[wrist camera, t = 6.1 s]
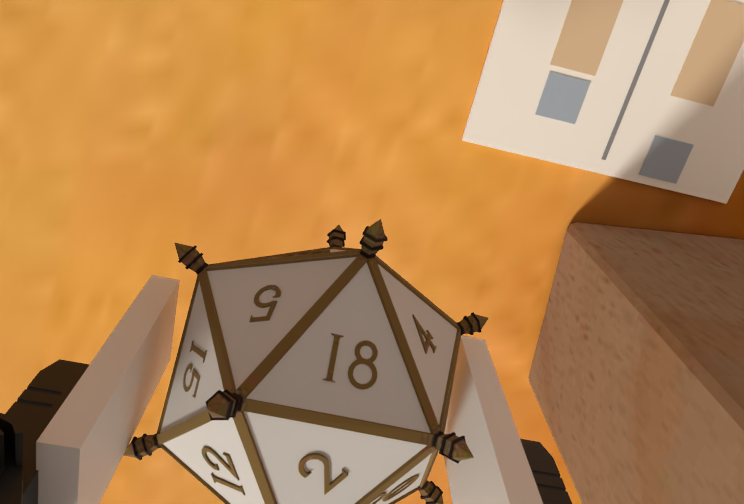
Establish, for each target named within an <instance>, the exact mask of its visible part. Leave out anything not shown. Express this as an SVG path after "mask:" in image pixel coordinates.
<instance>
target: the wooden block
mask: <svg viewBox="0 0 744 504" xmlns="http://www.w3.org/2000/svg"><path fill="white" fill-rule="evenodd" d="M529 382H530V385H531V387H532V389H533V392H534V394H535V396H536V398H537V401H538V403H539V405H540V408H541V410H542V412H543V414H544V417H545V419H546V421H547V424H548V426H549V428H550V431H551V433H552V435H553V437H554V440H555V442H556V444H557V447H558V449H559V451H560V453H561V456H562V458H563V460H564V463H565V465H566V467H567V470H568V472H569V474H570V476H571V479H572V481H573V483H574V486H575V488H576V490H577V492H578V495H579V497H580V499H581V502H582V504H744V239H734V238H725V237H715V236H705V235H696V234H686V233H676V232H667V231H657V230H647V229H638V228H628V227H618V226H609V225H599V224H589V223H580V222H578V223H572V224H570V225H569V227H568V228H567V232H566V236H565V239H564V243H563V247H562V251H561V255H560V259H559V263H558V266H557V270H556V274H555V278H554V282H553V286H552V289H551V293H550V297H549V301H548V305H547V309H546V313H545V316H544V320H543V324H542V328H541V332H540V336H539V339H538V343H537V347H536V351H535V355H534V359H533V363H532V366H531V370H530V374H529Z"/></svg>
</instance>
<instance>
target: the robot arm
mask: <svg viewBox="0 0 744 504" xmlns="http://www.w3.org/2000/svg"><path fill="white" fill-rule="evenodd" d="M179 281H180V280H176V279H171V278H165V277H160V276H155V275H152V276H151V277H150V279H149V280H148V281H147V283H146V284H145V286H144V287H143V289H142V290H141V292H140V293H139V294H138V296H137V297H136V299H135V300H134V302H133V303H132V304H131V306H130V307H129V309H128V310H127V312H126V313H125V315H124V316H123V317H122V319H121V320H120V322H119V323H118V325H117V326H116V328H115V329H114V330H113V332H112V333H111V335H110V336H109V338H108V339H107V341H106V342H105V343H104V345H103V346H102V348H101V349H100V351H99V352H98V353H97V355H96V356H95V358H94V359H93V361H92V362H91V364H90V365H88V364H83V363H77V362H71V361H65V360H58V361H57V362H55V363H53V364H51V365H50V366H48V367H46V368H45V369H43V370H41V371H40V372H39V373H38V374H37V376H36V377H35V378H34V379H33V380H32V382H31V383H30V384H29V385H28V388H27V390H26V389H25V390H24V392H23V393H22V394H21V395H20V397H19V398H18V400H17V402H15V403H14V404H13V405H12V406H11V408H10V409H9V410H8V411H7V413H6V414H2V413H0V504H99V503H100V501H101V499H102V497H103V495H104V493H105V491H106V489H107V487H108V485H109V483H110V481H111V479H112V477H113V475H114V473H115V470H116V468H117V466H118V464H119V462H120V460H121V458H122V456H123V454H124V452H125V450H126V448H127V446H128V444H129V442H130V440H131V438H132V436H133V434H134V432H135V430H136V428H137V426H138V424H139V422H140V420H141V418H142V416H143V414H144V411H145V409H146V407H147V405H148V403H149V401H150V399H151V397H152V395H153V393H154V391H155V389H156V387H157V385H158V383H159V381H160V379H161V377H162V375H163V373H164V371H165V369H166V367H167V365H168V363H169V361H170V356H171V347H172V339H173V331H174V322H175V314H176V306H177V297H178V289H179ZM452 432H455V433H456V436H458V437H461V436H462V435H463V436H465V440H466V444H467V446H468V448H469V449H470V451H471V453H472V455H473V457H474V458H470V459H466V460H462V461H460V462H459V463H456V462H454V461H452V460H450V459H448V458H447V457H445V456H444V459H445V464H446V470H447V475H448V481H449V486H450V492H451V497H452V502H453V504H572V502H571V500H570V497H569V495H568V493H567V492H566V491H565V489H566V488H565V485H564V483H563V480H562V478H560V473H559V471H558V468H557V466H556V464H555V461H554V459H553V457H552V456H551V455H550V454H549V453H548V451H547V450H546V449H545V448H544V447H543V445H542V444H541V443H540V442H535V441H530V440H524V439H520V438H519V435H518V432H517V429H516V426H515V424H514V421H513V418H512V415H511V412H510V410H509V407H508V404H507V401H506V398H505V396H504V393H503V390H502V387H501V384H500V382H499V379H498V376H497V373H496V370H495V368H494V365H493V362H492V359H491V356H490V354H489V351H488V348H487V345H486V342H485V340H483V339H478V338H473V337H468V336H463V335H461V340H460V345H459V351H458V357H457V363H456V369H455V374H454V380H453V386H452V392H451V398H450V404H449V409H448V415H447V421H446V427H445V433H444V434H450V433H452Z"/></svg>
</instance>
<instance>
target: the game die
mask: <svg viewBox="0 0 744 504" xmlns="http://www.w3.org/2000/svg"><path fill="white" fill-rule="evenodd" d="M363 235H364V236H363V238H362V239H361V241H360V244H361V245H362V249H353V248H342V247H344V240H346V233H345V232H343V230H342V229H341V227H340V225H338V226H337V227H336V228H335V229H334V230H332V231H331V232H330V233H328V235H327V236H329V239H328V240H327V242H328V243H329V246H330V247H328V248H321V249H314V250H307V251H300V252H293V253H286V254H279V255H272V256H265V257H258V258H251V259H244V260H237V261H230V262H223V263H216V264H209V265H208V264H207V263H205V261H204V259H203V257H202V255H203V254H202V253H201V254H200V253H199V252H198V251H197V250H196V249H195V248H196V246H194V247H191V246H187V245H182V244H178V243H175V246H176V250H177V253H178V257H179V261H178V262H179V263H180V262H182V263H183V264H184V265H186V266H187V267H186V269H188V268H189V269H191V270H193V271H195V272H196V273H197V274H198V276H197V280H196V284H195V288H194V291H193V295H192V299H191V303H190V307H189V311H188V315H187V319H186V322H185V326H184V330H183V334H182V338H181V342H180V346H179V349H178V353H177V357H176V361H175V365H174V369H173V373H172V377H171V380H170V384H169V388H168V392H167V396H166V400H165V404H164V407H163V411H162V415H161V419H160V423H159V427H158V431H157V434H155V435H146V434H143V436H142V437H139V438H137V437H134V438H133V440H132V442H131V443H130V444H129V445H128V446H127V448H126V450H125V452H124V454H123V455H124V456H130V457H136V458H138V459H139V460H142V457H143V456H146V455H149V456H151V455H152V452H153V451H155V450H156V449H157V448H162V449H164V450H165V451H166V452H167V453H168V454H169V455H170V456H172V457H173V458H174V459H175V460H176V461H177V462H178V463H179V464H181V465H182V466H183V467H184V468H185V469H186V470H187V471H189V472H190V473H191V474H192V475H193V476H194V477H195V478H197V479H198V480H199V481H200V482H201V483H202V484H203V485H204V486H206V487H207V488H208V489H209V490H210V491H211V492H212V493H214V494H215V495H216V496H217V497H218V498H219V499H220V500H222V501H223V502H224V503H225V504H395V503H396V502H398V501H400V500H402V499H403V498H405V497H407V496H408V495H410V494H412V493H414V492H415V491H417V490H419V492H420V494H421V497H420V498H421V499H425V500H426V504H443V499H442V493H443V492H442V491H441V489H440V488H439V487H438V486H437V487H436V485H435V484H434V483H433V482H432V481H431V482H429V481H427V478H428V476H429V473H430V471H431V468H432V466H433V463H434V461H435V458H436V456H437V453H438V451H439V453H440V454H441V455H443V456H445V457H447V458H448V459H450V460H452V461H454V462H456V463H459V462H460V461H462V460H466V459H470V458H474V457H473V455H472V453H471V451H470V449H469V448H468V446H467V444H466V440H465V436H463V435H462V436H461V437H458V436H456V433H455V432H452V433H450V434H444V433H445V427H446V421H447V415H448V409H449V404H450V398H451V392H452V386H453V380H454V374H455V369H456V363H457V357H458V351H459V345H460V340H461V335H463V334H467V333H468V334H471V335H473V332H481V329H482V327H483V326H484V324H485V323H486V321H487V320H488V318H487V317H483V316H479V315H475V314H474V313H471V315H470V316H468V317H467V316H464V318H463V320H461V321H460V322H458V323H456V322H455V321H454V320H452V319H451V318H450V317H449V316H448V315H446V314H445V313H444V312H443V311H442V310H440V309H439V308H438V307H437V306H436V305H435V304H433V303H432V302H431V301H430V300H429V299H427V298H426V297H425V296H424V295H423V294H421V293H420V292H419V291H418V290H417V289H415V288H414V287H413V286H412V285H411V284H409V283H408V282H407V281H406V280H405V279H403V278H402V277H401V276H400V275H399V274H397V273H396V272H395V271H394V270H393V269H391V268H390V267H389V266H388V265H387V264H385V263H384V262H383V261H382V260H381V259H380V258H378V257H377V256H376V255H375V254H376V253H377V252H378V251H379V250H381V249H383V246H382V244H383V242H384V241H387V237H386V236H385V234H384V230H383V226H382V222H381V219H380V220H379V221H377V222H376V223H374V224H373V225H371V226H370V227H368V226H367V227H366V228H365V230H364V232H363Z"/></svg>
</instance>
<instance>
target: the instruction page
mask: <svg viewBox="0 0 744 504" xmlns="http://www.w3.org/2000/svg"><path fill="white" fill-rule="evenodd" d="M462 141H466V142H470V143H474V144H479V145H483V146H487V147H491V148H495V149H499V150H504V151H508V152H512V153H516V154H520V155H525V156H529V157H533V158H537V159H541V160H545V161H550V162H554V163H558V164H562V165H566V166H571V167H575V168H579V169H583V170H587V171H591V172H596V173H600V174H604V175H608V176H612V177H617V178H621V179H625V180H629V181H633V182H637V183H642V184H646V185H650V186H654V187H658V188H663V189H667V190H671V191H675V192H679V193H683V194H688V195H692V196H696V197H700V198H704V199H709V200H713V201H717V202H721V203H725V204H727V202H728V200H729V198H730V196H731V194H732V192H733V190H734V188H735V186H736V184H737V182H738V180H739V178H740V176H741V174H742V172H743V170H744V0H503V3H502V7H501V10H500V13H499V16H498V20H497V23H496V26H495V30H494V33H493V36H492V40H491V43H490V46H489V50H488V53H487V56H486V60H485V63H484V66H483V70H482V73H481V76H480V80H479V83H478V86H477V90H476V93H475V96H474V100H473V103H472V106H471V110H470V113H469V116H468V120H467V123H466V126H465V130H464V133H463V136H462Z"/></svg>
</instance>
